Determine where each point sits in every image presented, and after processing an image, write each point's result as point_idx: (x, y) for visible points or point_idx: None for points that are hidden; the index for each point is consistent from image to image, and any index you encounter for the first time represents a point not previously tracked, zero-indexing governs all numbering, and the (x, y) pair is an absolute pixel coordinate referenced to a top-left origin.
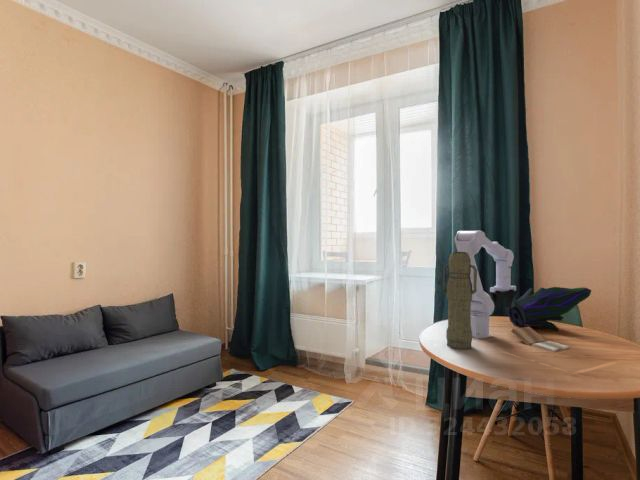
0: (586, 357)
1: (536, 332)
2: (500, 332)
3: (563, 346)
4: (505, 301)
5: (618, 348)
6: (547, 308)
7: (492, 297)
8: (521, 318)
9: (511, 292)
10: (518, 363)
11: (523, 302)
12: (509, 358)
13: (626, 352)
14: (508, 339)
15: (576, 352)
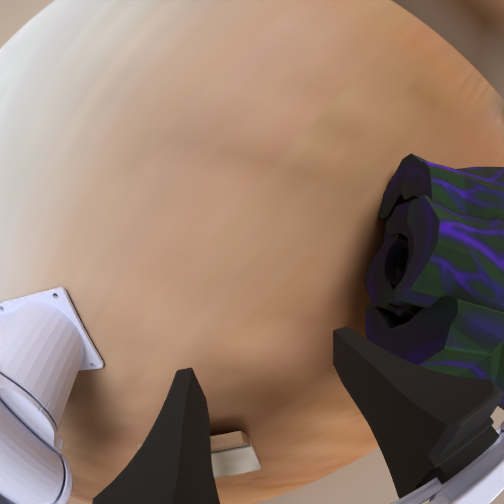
0: (241, 484)
1: (246, 443)
2: (187, 304)
3: (243, 470)
4: (362, 363)
5: (371, 442)
6: None
7: (132, 460)
8: (378, 305)
9: (405, 486)
10: (80, 476)
11: (452, 367)
12: (73, 465)
13: (352, 458)
14: (147, 395)
15: (253, 471)
